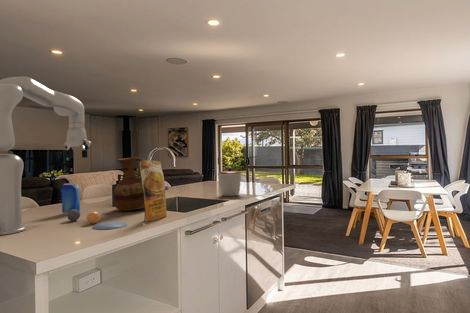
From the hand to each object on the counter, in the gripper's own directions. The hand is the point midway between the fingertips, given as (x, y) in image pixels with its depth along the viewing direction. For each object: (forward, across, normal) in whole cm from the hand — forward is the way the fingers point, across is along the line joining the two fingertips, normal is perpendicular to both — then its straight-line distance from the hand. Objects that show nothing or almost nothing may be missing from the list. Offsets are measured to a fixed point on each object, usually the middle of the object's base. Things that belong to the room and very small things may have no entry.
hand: (77, 157), depth 164 cm
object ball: (+27, +30, -23) cm, 46 cm away
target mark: (+30, +41, -25) cm, 56 cm away
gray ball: (+27, +16, -20) cm, 37 cm away
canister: (+30, +63, +79) cm, 105 cm away
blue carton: (+30, 0, -5) cm, 31 cm away
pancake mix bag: (+30, +52, -7) cm, 60 cm away
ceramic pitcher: (+30, +26, +13) cm, 42 cm away
